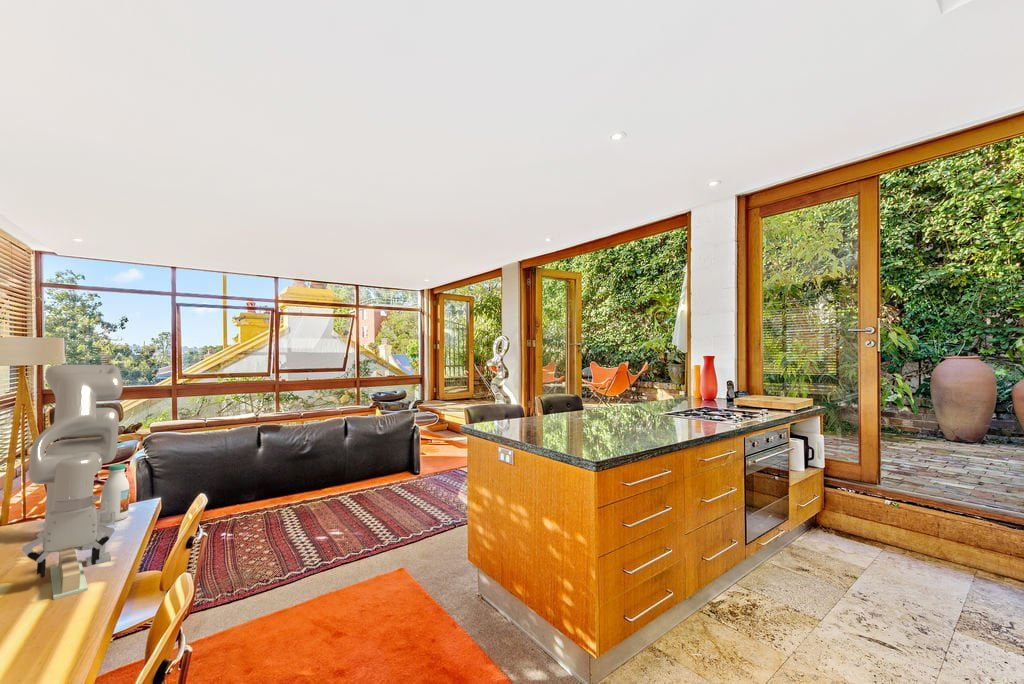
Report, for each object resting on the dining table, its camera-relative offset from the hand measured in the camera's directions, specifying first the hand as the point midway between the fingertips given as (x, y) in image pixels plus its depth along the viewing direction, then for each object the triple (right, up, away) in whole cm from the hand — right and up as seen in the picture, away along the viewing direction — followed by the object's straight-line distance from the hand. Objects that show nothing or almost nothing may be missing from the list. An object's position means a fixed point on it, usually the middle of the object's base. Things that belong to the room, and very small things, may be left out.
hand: (68, 569), depth 115 cm
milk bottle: (-29, -5, +44) cm, 53 cm away
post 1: (-14, -4, +21) cm, 26 cm away
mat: (0, -3, 0) cm, 3 cm away
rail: (0, -2, 0) cm, 2 cm away
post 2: (-2, -3, +11) cm, 11 cm away
